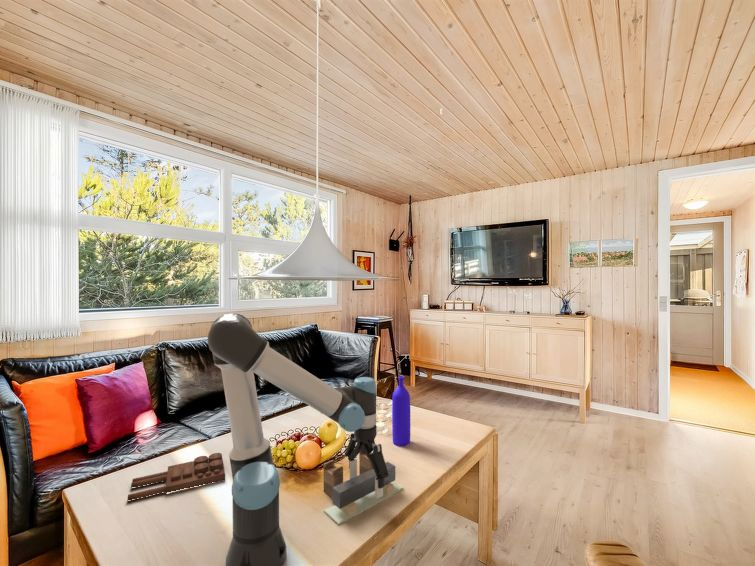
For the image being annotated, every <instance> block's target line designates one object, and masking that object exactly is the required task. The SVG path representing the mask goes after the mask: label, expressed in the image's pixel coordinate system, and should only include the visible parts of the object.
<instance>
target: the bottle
mask: <svg viewBox="0 0 755 566" xmlns="http://www.w3.org/2000/svg"><path fill="white" fill-rule="evenodd" d="M397 378H398V386H397V387H396V388H395V390H394V391H393V392H392V400H391V402H392V403H391V405H392V407H391V413H392V414H391V415H392V416H391V417H392V418H391V421H392V422H391V427H392V430H391V431H392V433H391V434H392V443H393V445H395V446H397V447H406V445H407V446H409V445H410V443H411V395H410V394H411V393H410V392H409V390H408V389H407V388H406V387H405V385H404V379H405V376H403V375H402V376H401V375H400V376H398V377H397ZM408 444H409V445H408Z"/></svg>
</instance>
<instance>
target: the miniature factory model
mask: <svg viewBox="0 0 755 566" xmlns="http://www.w3.org/2000/svg"><path fill="white" fill-rule="evenodd" d="M222 480H224V481H226V470H225V465H224V461H223V454H222V453H220V452H215V453H212V454H209V455H208V456H207V455H200V456H197V457H195V458H194V460H191V461H187V462H182V463H178V464H173V465H169V466H167V470H166V471H162V472H158V473H154V474H148V475H145V476H140V477H136V478H132V481H131V484H130V489H131V488H132V487H138V486H143V485H147V484H151V483H156V482H161V483H163V482H162V481H166V482H165V485H164V486H159V487H155V488H151V489H146V490H142V491H137V492H134V493H133V492H132V493H129V494H128V495H127V501H128V500H132V499H137V498H141V497H146V496H149V495H153V494H157V493H162V492H166V493H167V492H171V491H176V490H180V489H184V488H190V487H194V486H199V485H203V484H208V483H212V482H216V483H219V482H218V481H220V482H223V481H222ZM212 484H213V483H212ZM208 485H209V484H208ZM166 493H165V494H166Z"/></svg>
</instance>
